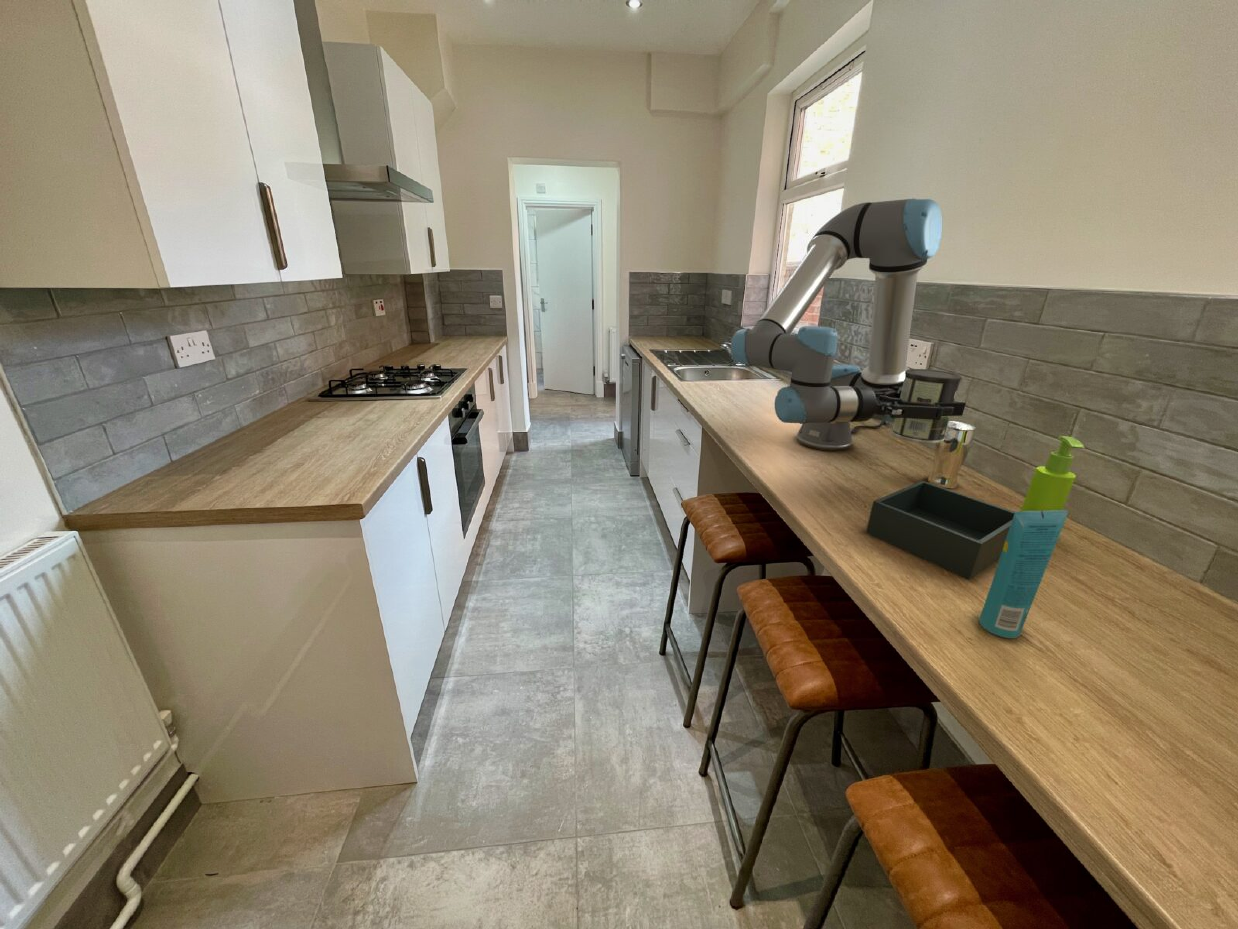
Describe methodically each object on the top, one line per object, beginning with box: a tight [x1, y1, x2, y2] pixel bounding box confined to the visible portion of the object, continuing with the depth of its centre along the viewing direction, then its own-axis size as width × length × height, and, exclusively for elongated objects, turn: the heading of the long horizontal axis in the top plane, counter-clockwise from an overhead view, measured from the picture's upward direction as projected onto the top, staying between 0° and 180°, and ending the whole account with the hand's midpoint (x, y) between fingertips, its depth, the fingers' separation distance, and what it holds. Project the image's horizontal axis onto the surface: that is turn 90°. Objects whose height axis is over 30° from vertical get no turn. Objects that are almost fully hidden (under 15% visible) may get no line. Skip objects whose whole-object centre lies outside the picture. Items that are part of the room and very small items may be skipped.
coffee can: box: [891, 368, 963, 445], centre depth 106 cm, size 10×10×14 cm
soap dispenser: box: [1020, 435, 1085, 511], centre depth 94 cm, size 6×7×20 cm
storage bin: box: [865, 480, 1016, 580], centre depth 93 cm, size 19×19×7 cm
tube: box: [978, 509, 1069, 639], centre depth 68 cm, size 7×5×19 cm, turn 100°
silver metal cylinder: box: [927, 420, 976, 489], centre depth 117 cm, size 7×7×15 cm
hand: (943, 402), depth 106 cm, fingers closed on coffee can, 10 cm apart
